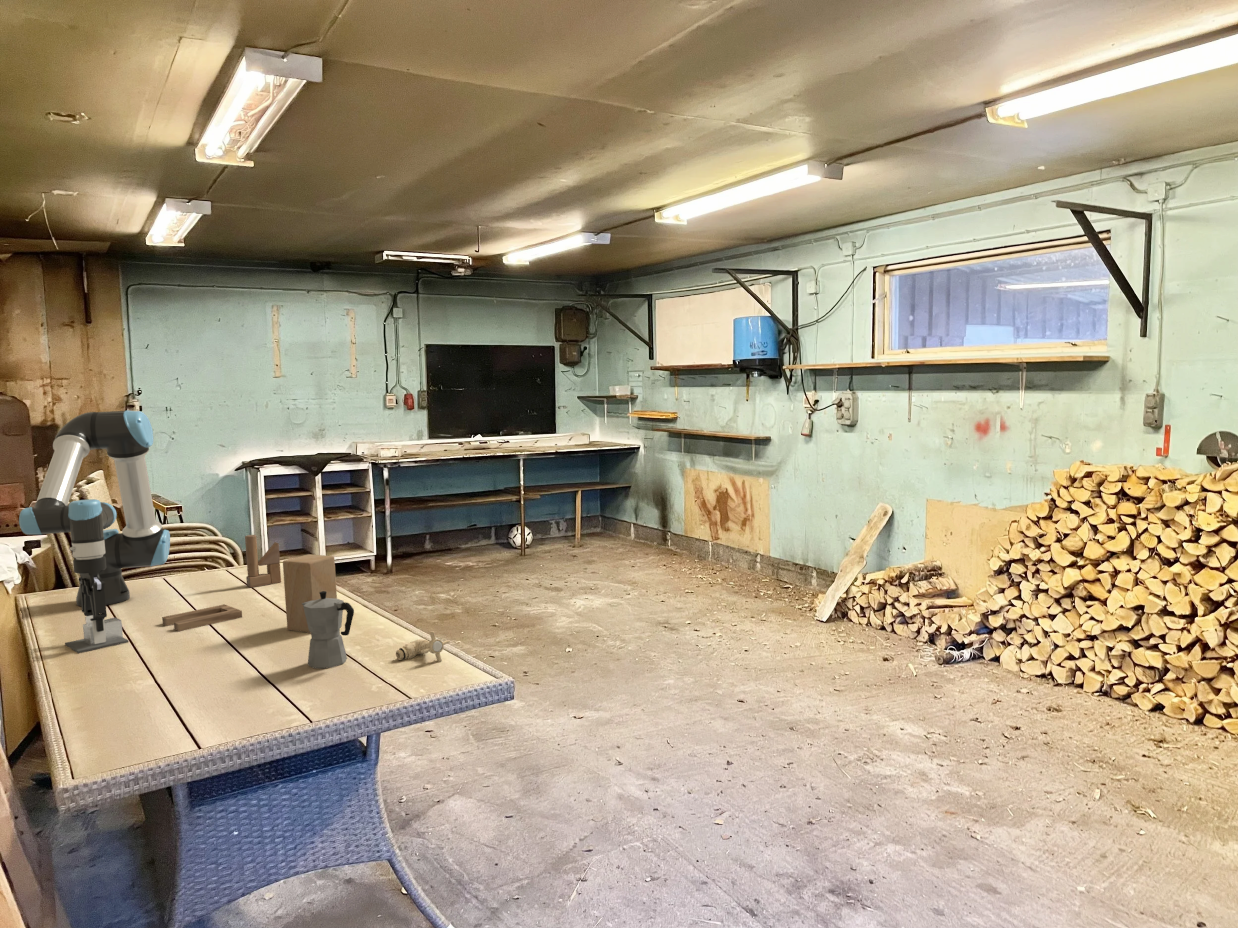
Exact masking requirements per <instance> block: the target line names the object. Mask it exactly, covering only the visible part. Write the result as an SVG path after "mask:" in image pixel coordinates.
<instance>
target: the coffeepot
mask: <svg viewBox="0 0 1238 928" xmlns="http://www.w3.org/2000/svg"><path fill="white" fill-rule="evenodd" d="M326 593H327V592H326V591H322V592H320V596H321V599H318V600H312V601H308V602H304V603H302V605H303V607H304V611H305V616H306V620H307V624H308V629H309V631H310V632H311V633H310V634H311V635H310V636H311V638H310V640H309V648H308V649H309V650H308V656H307V657H308V658H307V666H309V667H310V668H312V669H319V670H320V669H322V670H323V669H330V668H331V669H332V668H334V667H335V668H336V667H339V666H341V665H343V664H345V663H346V661H347V659H348V655H347V653H346V647H345V644H344V639H343V636H349V634H350V631H351V626H352V622H353V620H354V619H353V617H354V614H355V610H354V608H353V606H352V605H351V603H349V602H346V601H344V600H343V599H339V598H337V599H335V598H326ZM344 611H346V615H345V616H346V621H345V624H344V631H341V629H342V626H343V624H342V622H343V613H344Z"/></svg>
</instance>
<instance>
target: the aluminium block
mask: <svg viewBox="0 0 1238 928" xmlns="http://www.w3.org/2000/svg"><path fill="white" fill-rule="evenodd" d="M104 623H105V634H106V641H110V640H114V639H118V638H124V636H123V625H122V624H123V623H122V619H120V618H117V617H112V618H111V617H109V618H106V619H104ZM82 629H83V639H84V642H85V643H87V644H90V645H93V644H94V638H93V626H92V623H87V624H86V623H83V624H82Z"/></svg>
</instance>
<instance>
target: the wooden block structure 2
mask: <svg viewBox="0 0 1238 928" xmlns="http://www.w3.org/2000/svg"><path fill="white" fill-rule="evenodd" d="M244 540H245V541H244V542H245V556H246V568H247V570H246V571H247V576H246V578H245V579H246V586H247V587H248V588H249V589H251V588H256V587H263V586H268V585H274V584H280V583H282V575H281V573H282V572H281V561H280V560H281V559H280V558H281V557H280V545H279V543H278V542H275V541H274V542H273V544H271V546H270V547H269V548H268V550H267V551H266V552H265V553H264V555H262V557H261V558H260V559H259V558H258V557H259V556H258V543H257V541H258V540H257V535H256V534H248V535H245V536H244ZM261 566H266V573H260V572H259V571H260V569H259V567H261Z"/></svg>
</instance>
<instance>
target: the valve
mask: <svg viewBox="0 0 1238 928" xmlns="http://www.w3.org/2000/svg"><path fill="white" fill-rule="evenodd" d="M429 635H430V639H431V640H430V641H429V640H428V639H423V638H419V639H415V640H414V641H411V642H408V643H407V644H404V645H403V646H401V647H400V648H399V649H398V650H396V651H395V657H396V659H397V660H399V661H401V660H406V659H413V658H415V657H416V655H417V656H420V655H424V654H428V653H431V654H435V658H436V662H442V661H443V660H442V656H441V652H443V650H444V646H445V645H448V644H450V642H451V640H448V639H447V640H444V641H442V640H441V639H437V637H436V634H435V631H433V630H432V631H431V630H430V631H429Z"/></svg>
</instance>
